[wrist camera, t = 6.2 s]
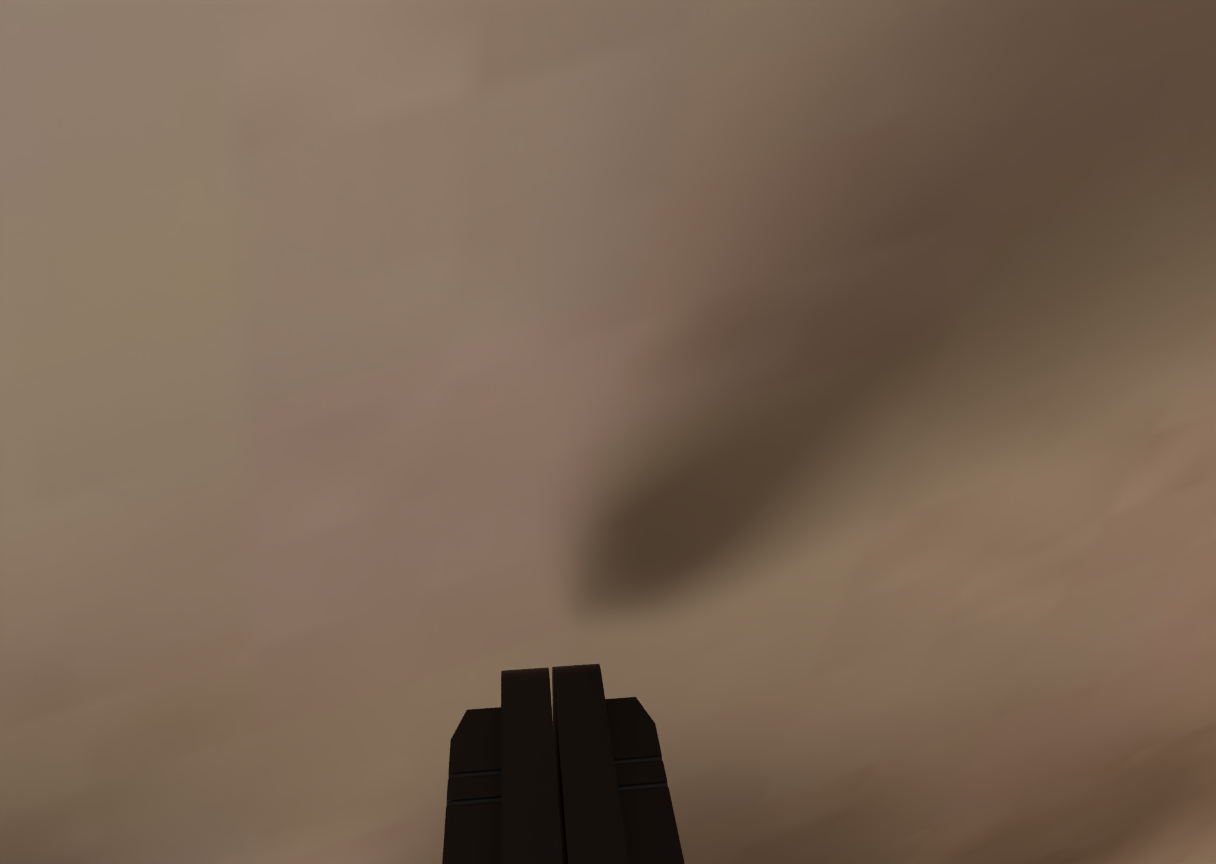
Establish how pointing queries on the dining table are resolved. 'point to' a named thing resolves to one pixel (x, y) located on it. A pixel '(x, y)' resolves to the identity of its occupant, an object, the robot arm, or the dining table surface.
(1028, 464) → the dining table surface
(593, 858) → the robot arm
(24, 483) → the dining table surface
